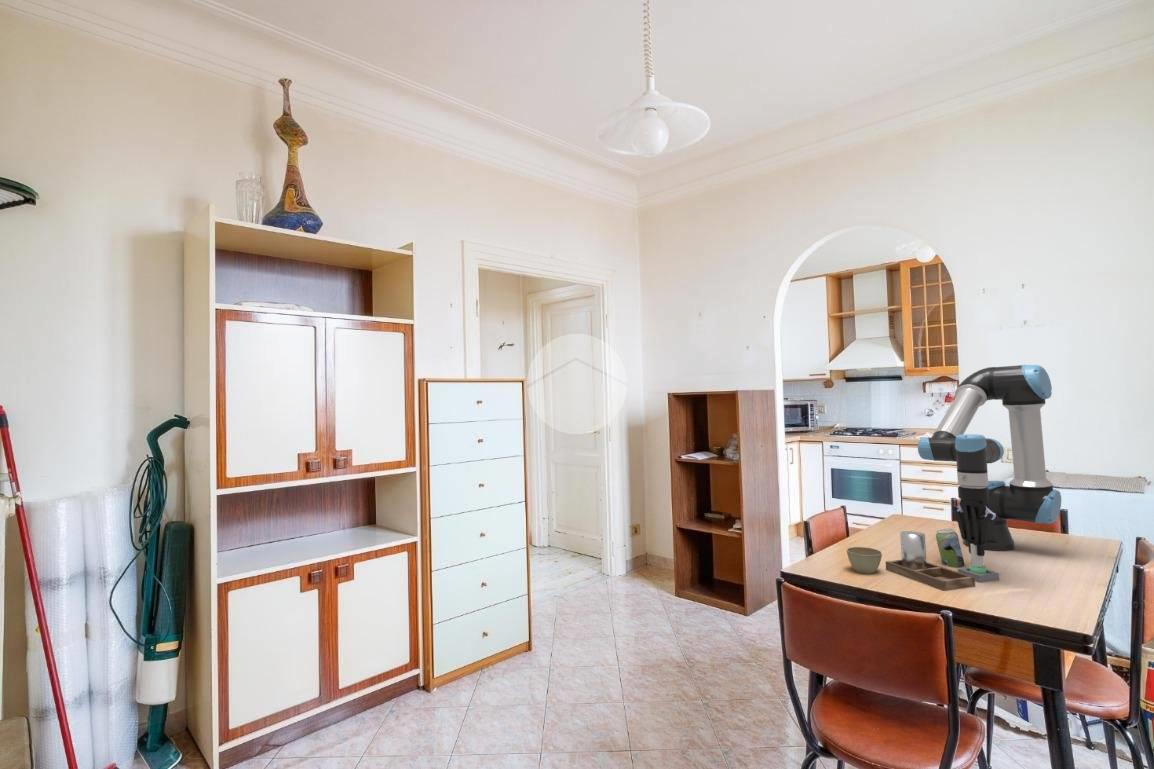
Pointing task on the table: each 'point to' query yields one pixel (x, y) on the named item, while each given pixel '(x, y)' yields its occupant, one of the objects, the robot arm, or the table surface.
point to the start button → (978, 569)
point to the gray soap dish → (981, 575)
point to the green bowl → (864, 559)
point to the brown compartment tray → (933, 576)
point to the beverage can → (949, 548)
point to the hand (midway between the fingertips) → (977, 565)
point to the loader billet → (913, 550)
